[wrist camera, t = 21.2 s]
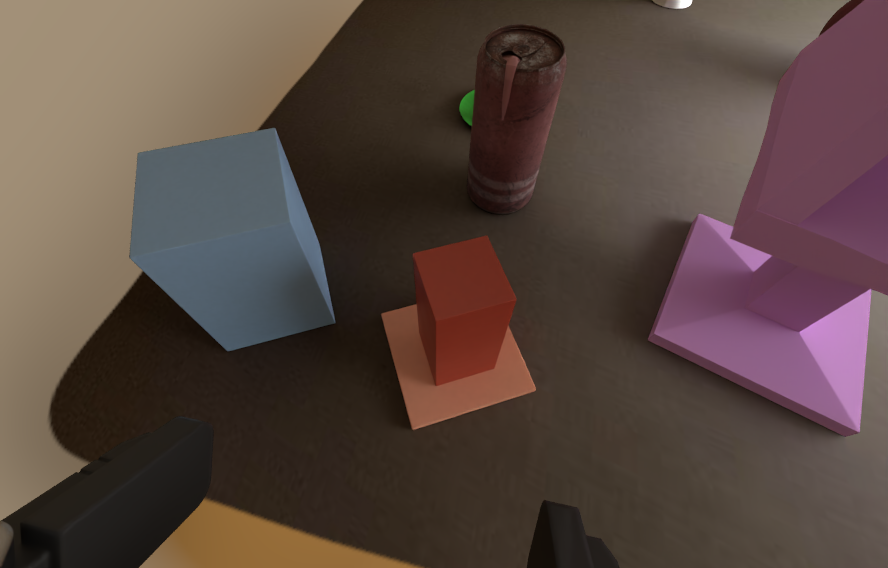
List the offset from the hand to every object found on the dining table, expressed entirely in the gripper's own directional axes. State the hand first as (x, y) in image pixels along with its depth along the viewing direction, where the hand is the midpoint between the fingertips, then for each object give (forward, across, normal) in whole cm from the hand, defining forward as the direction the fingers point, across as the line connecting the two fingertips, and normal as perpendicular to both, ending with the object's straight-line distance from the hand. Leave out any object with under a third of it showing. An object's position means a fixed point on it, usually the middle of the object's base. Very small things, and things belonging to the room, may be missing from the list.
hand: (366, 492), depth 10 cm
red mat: (+22, -1, +4) cm, 22 cm away
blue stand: (+23, +14, +3) cm, 27 cm away
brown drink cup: (+33, -2, -8) cm, 34 cm away
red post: (+21, -1, +4) cm, 21 cm away
